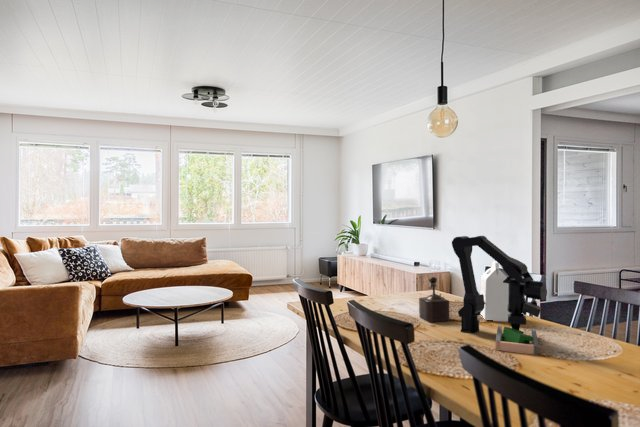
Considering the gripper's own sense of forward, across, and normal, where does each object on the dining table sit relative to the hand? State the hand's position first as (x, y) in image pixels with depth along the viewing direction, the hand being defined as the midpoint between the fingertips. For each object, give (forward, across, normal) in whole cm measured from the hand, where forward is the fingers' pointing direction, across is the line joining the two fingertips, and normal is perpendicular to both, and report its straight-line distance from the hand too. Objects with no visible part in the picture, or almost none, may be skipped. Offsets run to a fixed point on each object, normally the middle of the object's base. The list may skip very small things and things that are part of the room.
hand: (516, 334), depth 176 cm
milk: (+5, +34, +8) cm, 35 cm away
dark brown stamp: (+4, +24, +35) cm, 43 cm away
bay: (+2, -4, 0) cm, 4 cm away
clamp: (+2, -8, 0) cm, 8 cm away
